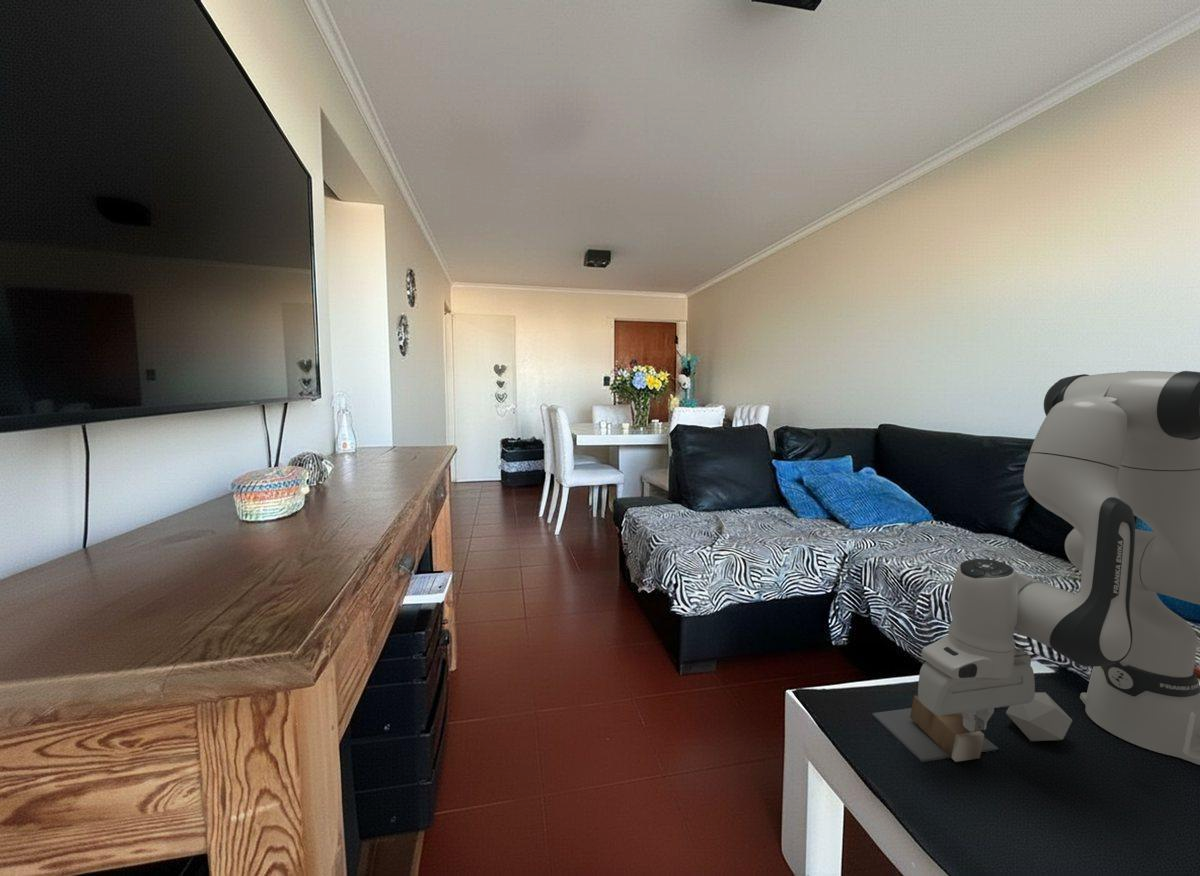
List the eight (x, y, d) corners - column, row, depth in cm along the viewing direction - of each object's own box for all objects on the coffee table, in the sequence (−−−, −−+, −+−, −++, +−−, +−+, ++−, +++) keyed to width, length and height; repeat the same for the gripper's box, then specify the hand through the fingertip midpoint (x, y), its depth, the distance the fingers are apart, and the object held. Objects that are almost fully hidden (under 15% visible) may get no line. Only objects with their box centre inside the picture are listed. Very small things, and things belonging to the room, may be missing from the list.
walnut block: (979, 758, 82) (932, 714, 92) (984, 734, 81) (935, 692, 91) (955, 762, 81) (910, 717, 91) (959, 738, 80) (913, 695, 90)
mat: (940, 706, 96) (940, 704, 96) (998, 750, 84) (998, 748, 84) (872, 715, 94) (872, 713, 94) (921, 762, 82) (922, 759, 82)
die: (1075, 763, 82) (1089, 711, 84) (1028, 735, 83) (1043, 685, 85) (1033, 745, 90) (1046, 698, 92) (990, 720, 91) (1005, 674, 93)
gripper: (1011, 638, 84) (1006, 708, 85) (913, 649, 81) (909, 722, 82) (1050, 658, 77) (1043, 733, 79) (945, 671, 74) (940, 749, 76)
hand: (974, 728), depth 80 cm, fingers closed
